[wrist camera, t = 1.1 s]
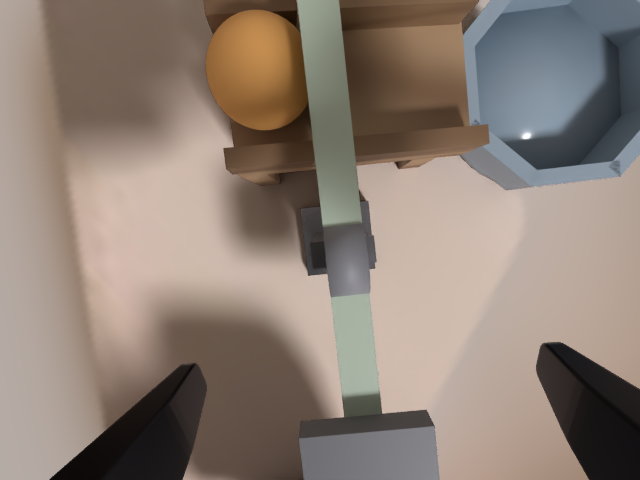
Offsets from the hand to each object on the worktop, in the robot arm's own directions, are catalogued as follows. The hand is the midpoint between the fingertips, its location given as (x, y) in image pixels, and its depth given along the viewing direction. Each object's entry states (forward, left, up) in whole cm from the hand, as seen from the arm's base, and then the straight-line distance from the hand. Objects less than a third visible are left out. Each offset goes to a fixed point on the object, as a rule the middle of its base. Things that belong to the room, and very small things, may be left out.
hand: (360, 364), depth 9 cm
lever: (+3, 0, -6) cm, 7 cm away
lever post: (+3, 0, -12) cm, 12 cm away
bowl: (+10, -12, -12) cm, 19 cm away
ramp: (+10, -1, -12) cm, 15 cm away
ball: (+10, +2, -4) cm, 11 cm away
